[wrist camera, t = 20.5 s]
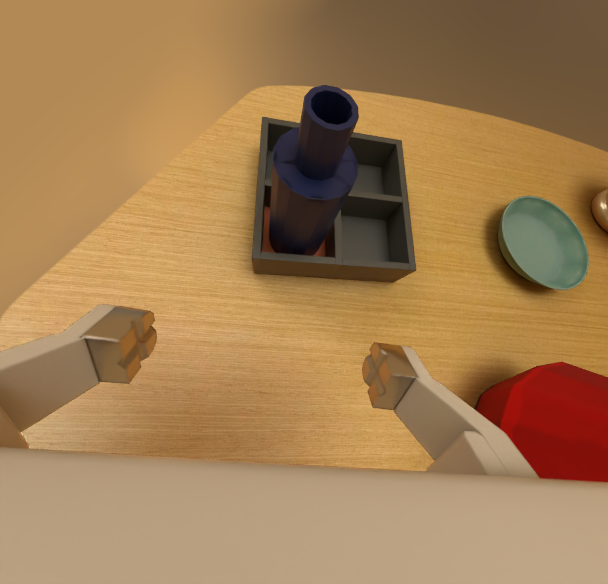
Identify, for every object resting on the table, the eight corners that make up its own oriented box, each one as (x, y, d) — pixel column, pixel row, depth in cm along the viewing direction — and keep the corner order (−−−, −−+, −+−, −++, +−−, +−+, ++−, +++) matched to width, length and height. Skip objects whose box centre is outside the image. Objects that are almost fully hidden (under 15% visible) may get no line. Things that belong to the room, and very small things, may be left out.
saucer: (578, 295, 35) (603, 291, 33) (496, 292, 33) (516, 287, 30) (552, 210, 39) (573, 200, 36) (477, 201, 36) (493, 190, 34)
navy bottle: (267, 259, 27) (273, 143, 12) (270, 211, 29) (277, 54, 14) (320, 263, 28) (388, 161, 13) (320, 216, 30) (380, 76, 15)
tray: (253, 273, 28) (251, 258, 23) (262, 149, 32) (262, 116, 27) (393, 282, 30) (416, 270, 26) (383, 167, 35) (401, 140, 30)
